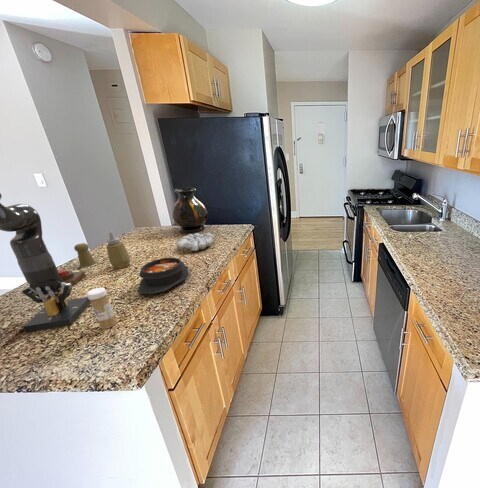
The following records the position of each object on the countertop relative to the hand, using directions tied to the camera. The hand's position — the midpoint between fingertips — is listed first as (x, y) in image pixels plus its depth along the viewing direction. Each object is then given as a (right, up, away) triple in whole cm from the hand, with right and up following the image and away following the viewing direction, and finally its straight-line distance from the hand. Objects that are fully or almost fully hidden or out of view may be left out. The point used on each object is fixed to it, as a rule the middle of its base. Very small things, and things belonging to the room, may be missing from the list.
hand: (58, 310), depth 91 cm
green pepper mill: (-25, +13, +39) cm, 48 cm away
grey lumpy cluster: (+18, +22, +61) cm, 68 cm away
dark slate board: (0, -2, +1) cm, 3 cm away
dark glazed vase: (+2, +33, +89) cm, 95 cm away
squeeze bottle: (-7, +12, +37) cm, 40 cm away
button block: (-21, +6, +23) cm, 31 cm away
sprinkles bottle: (+21, -4, -3) cm, 21 cm away
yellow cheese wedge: (0, 0, 0) cm, 0 cm away
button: (-21, +10, +22) cm, 31 cm away
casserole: (+24, +6, +23) cm, 34 cm away
